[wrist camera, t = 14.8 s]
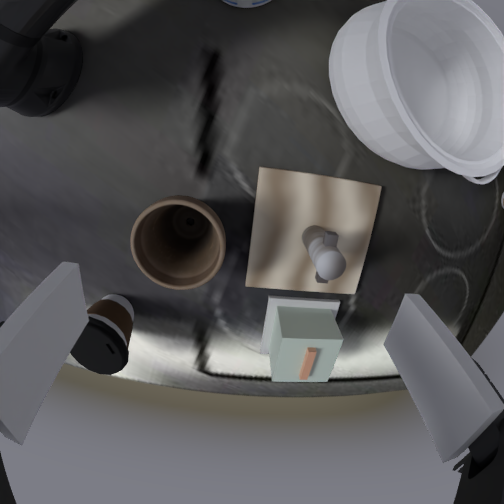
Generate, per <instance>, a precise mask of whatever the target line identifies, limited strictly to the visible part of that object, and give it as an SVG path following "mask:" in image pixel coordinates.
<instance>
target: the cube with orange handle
mask: <svg viewBox="0 0 504 504" xmlns="http://www.w3.org/2000/svg"><path fill="white" fill-rule="evenodd" d="M343 340H344V339H343V337H342V335H341V332H340V330H339V328H338V325H337V323H336V321H335V318H334V316H333V314H332V311H331V309H320V308H303V307H287V306H277V308H276V313H275V318H274V324H273V329H272V334H271V339H270V344H269V356H270V365H271V375H272V381H278V382H327V381H328V379H329V376H330V374H331V371H332V369H333V366H334V364H335V361H336V359H337V356H338V353H339V351H340V348H341V345H342V343H343Z"/></svg>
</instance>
